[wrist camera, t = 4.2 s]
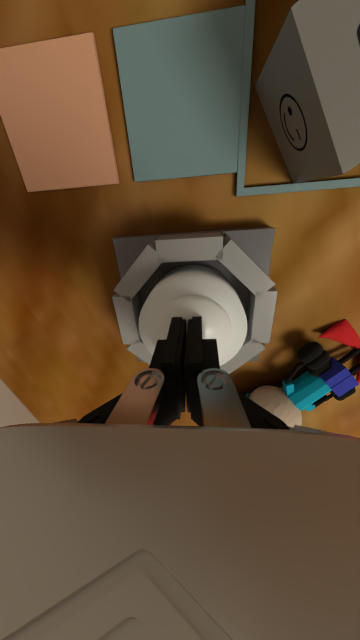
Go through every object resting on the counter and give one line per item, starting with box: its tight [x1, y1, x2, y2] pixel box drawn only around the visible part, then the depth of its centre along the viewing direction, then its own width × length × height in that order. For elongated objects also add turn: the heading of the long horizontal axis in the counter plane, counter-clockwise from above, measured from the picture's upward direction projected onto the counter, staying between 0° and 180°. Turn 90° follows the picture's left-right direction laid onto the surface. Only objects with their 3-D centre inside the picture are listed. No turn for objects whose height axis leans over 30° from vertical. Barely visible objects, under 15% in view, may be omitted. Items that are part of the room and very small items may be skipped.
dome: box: [139, 265, 247, 366], centre depth 14 cm, size 6×6×4 cm
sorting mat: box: [0, 0, 360, 197], centre depth 11 cm, size 21×8×1 cm, turn 94°
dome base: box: [112, 227, 277, 374], centre depth 15 cm, size 10×10×3 cm
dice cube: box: [254, 0, 360, 184], centre depth 8 cm, size 5×5×5 cm
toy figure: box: [245, 319, 360, 427], centre depth 18 cm, size 8×5×15 cm
